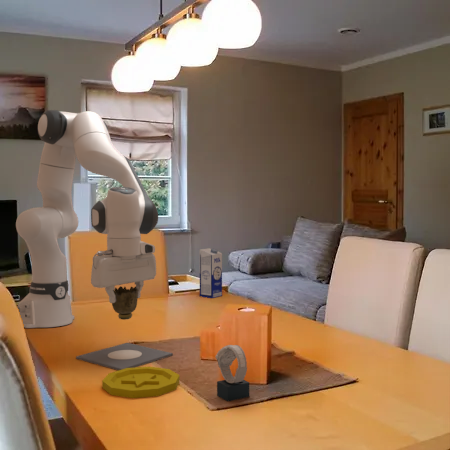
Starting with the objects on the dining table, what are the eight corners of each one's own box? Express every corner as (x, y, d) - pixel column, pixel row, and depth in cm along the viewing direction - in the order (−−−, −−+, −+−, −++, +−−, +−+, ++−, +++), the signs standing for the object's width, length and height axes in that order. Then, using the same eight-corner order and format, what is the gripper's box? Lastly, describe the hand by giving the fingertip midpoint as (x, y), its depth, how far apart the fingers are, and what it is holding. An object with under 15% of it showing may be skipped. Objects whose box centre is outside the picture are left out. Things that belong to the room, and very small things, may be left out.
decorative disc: (87, 388, 135) (87, 379, 135) (145, 370, 148) (145, 362, 148) (136, 405, 124) (136, 396, 124) (194, 384, 138) (194, 375, 137)
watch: (233, 388, 134) (233, 340, 133) (253, 399, 127) (254, 348, 126) (212, 393, 131) (212, 343, 130) (231, 404, 124) (231, 352, 123)
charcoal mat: (76, 358, 157) (76, 356, 157) (127, 344, 171) (127, 342, 171) (122, 371, 146) (122, 368, 146) (172, 355, 160) (172, 352, 160)
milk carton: (209, 294, 254) (209, 247, 253) (222, 295, 250) (222, 248, 249) (199, 296, 248) (199, 249, 247) (212, 298, 244) (212, 249, 243)
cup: (143, 315, 161) (142, 286, 160) (133, 322, 154) (132, 292, 153) (117, 314, 163) (116, 285, 162) (106, 321, 156) (105, 291, 155)
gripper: (101, 252, 147) (102, 307, 148) (159, 245, 163) (160, 295, 164) (84, 251, 151) (86, 305, 152) (143, 244, 167) (144, 293, 168)
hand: (125, 300), depth 158 cm, fingers closed on cup, 7 cm apart
